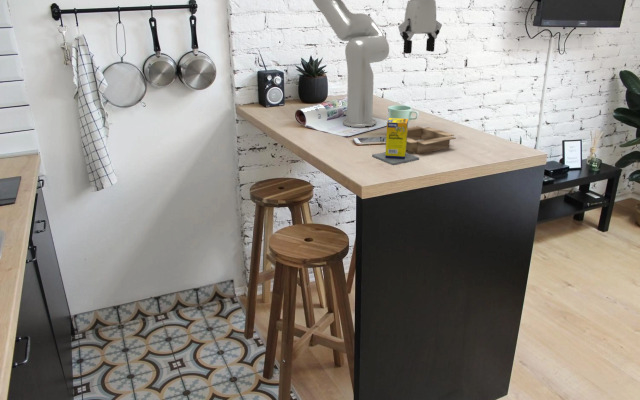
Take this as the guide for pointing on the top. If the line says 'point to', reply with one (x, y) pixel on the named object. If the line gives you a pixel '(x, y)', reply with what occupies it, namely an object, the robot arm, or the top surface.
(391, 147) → the supplement box
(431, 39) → the robot arm
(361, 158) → the top surface
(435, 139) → the carton
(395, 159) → the coaster
